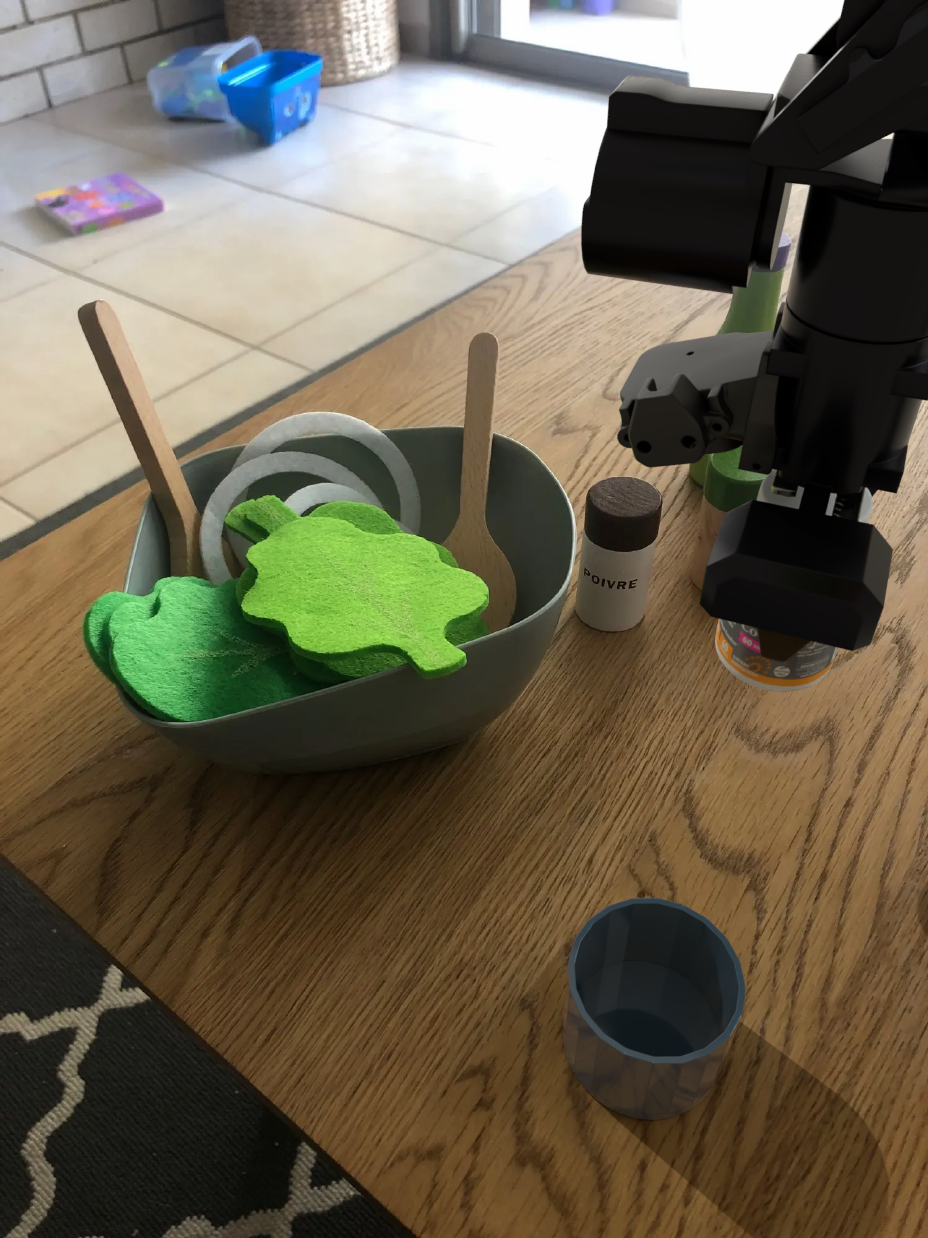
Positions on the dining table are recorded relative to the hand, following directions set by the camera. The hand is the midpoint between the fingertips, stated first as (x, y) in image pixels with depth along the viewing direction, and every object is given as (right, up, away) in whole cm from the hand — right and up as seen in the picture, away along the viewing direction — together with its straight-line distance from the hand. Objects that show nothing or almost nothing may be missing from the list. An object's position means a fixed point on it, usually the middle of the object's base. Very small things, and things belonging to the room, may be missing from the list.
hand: (784, 614), depth 48 cm
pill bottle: (0, -2, +2) cm, 3 cm away
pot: (-7, -19, -2) cm, 21 cm away
